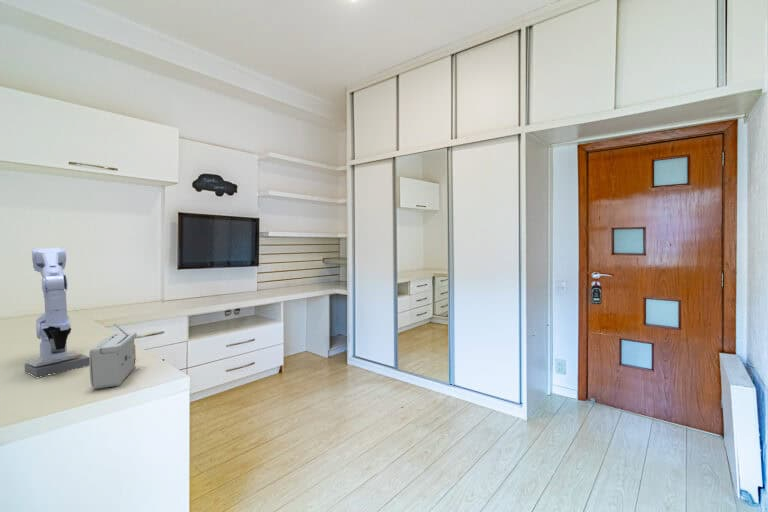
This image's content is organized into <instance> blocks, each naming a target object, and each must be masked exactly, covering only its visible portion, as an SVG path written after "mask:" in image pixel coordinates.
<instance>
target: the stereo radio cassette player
mask: <svg viewBox="0 0 768 512" xmlns="http://www.w3.org/2000/svg"><path fill="white" fill-rule="evenodd" d="M113 326H115V327H116V328H117V329H118V330H119V331H120V333H119V332H118V333H113V334H111V335H109V336H107V337H106V338H105V339H103V340H102V341H101V342H99V343H98V344H96V345H95V346H94V347H92V348H91V349H90V350H89V356H88V357H89V378H90V385H91V387H92V388H94V389H97V390H100V389H103V388H104V389H105V388H111V387H119V386H120V385H121V383H122V382H124V380H125V379H126V377H128V375H130V373H131V372H132V371H133V370H134V369H135V367H136V361H135V352H136V347H135V348H134V344H135V339H136V338H137V335H138V334H137V332H135V331H133V332H125V330H123V329H122V328H121V327H119V326H118V325H116V323H114V324H113ZM121 332H122V333H121Z"/></svg>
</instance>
